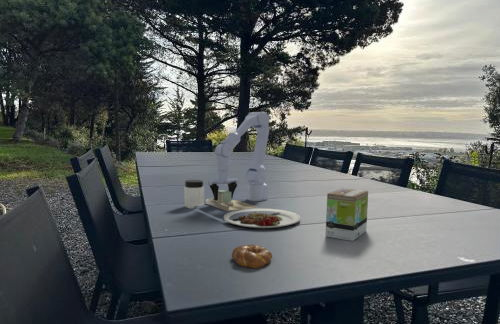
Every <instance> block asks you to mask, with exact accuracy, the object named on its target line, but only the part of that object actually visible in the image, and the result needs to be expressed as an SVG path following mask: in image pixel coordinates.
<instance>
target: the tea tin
mask: <svg viewBox="0 0 500 324" xmlns="http://www.w3.org/2000/svg"><path fill="white" fill-rule="evenodd" d="M231 200H232V199H231V192H229V190H226V189H221V190H220V189H218V200H217V202H219V203H221V202H230V201H231Z"/></svg>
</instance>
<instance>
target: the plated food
mask: <svg viewBox="0 0 500 324" xmlns="http://www.w3.org/2000/svg"><path fill="white" fill-rule="evenodd" d="M247 212H248V214H247V215H243V214H242V215H240V216H238V218H234V219H233V218H232V219H230V218H231V216H234V215H237V214H240V213H247ZM249 212H251V213H249ZM265 212H266V213H265ZM267 212H274V213H267ZM223 220H224V221H225V222H227V223H229V224H232V225H236V226H239V227H244V228H253V229H274V228H282V227H285V226H290V225H291V226H292V225H293V224H297V223H299V222H300V221H301V216H300V215H299V214H298V213H295V212H293V211H289V210H285V209H283V210H282V209H277V208H275V209H274V208H248V209H240V210H232V211H228V212H227V213H225V214H224V215H223Z"/></svg>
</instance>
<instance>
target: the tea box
mask: <svg viewBox="0 0 500 324" xmlns="http://www.w3.org/2000/svg"><path fill="white" fill-rule="evenodd" d="M326 194H327V195H326V214H325V215H326V216H325V217H326V218H325V237H327V238H332V239H338V240H344V241H350V242H351V241H352V242H354V241H355V240H356V239H358V238H359V237H360V236H362V235H363V234H364V233H366V232H367V228H368V227H367V223H368V202H369V200H368V199H369V191H368V190H364V189H363V190H361V189H353V188H343V187H342V188H339V189H336V190H334V191H331V192H327V193H326Z"/></svg>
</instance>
